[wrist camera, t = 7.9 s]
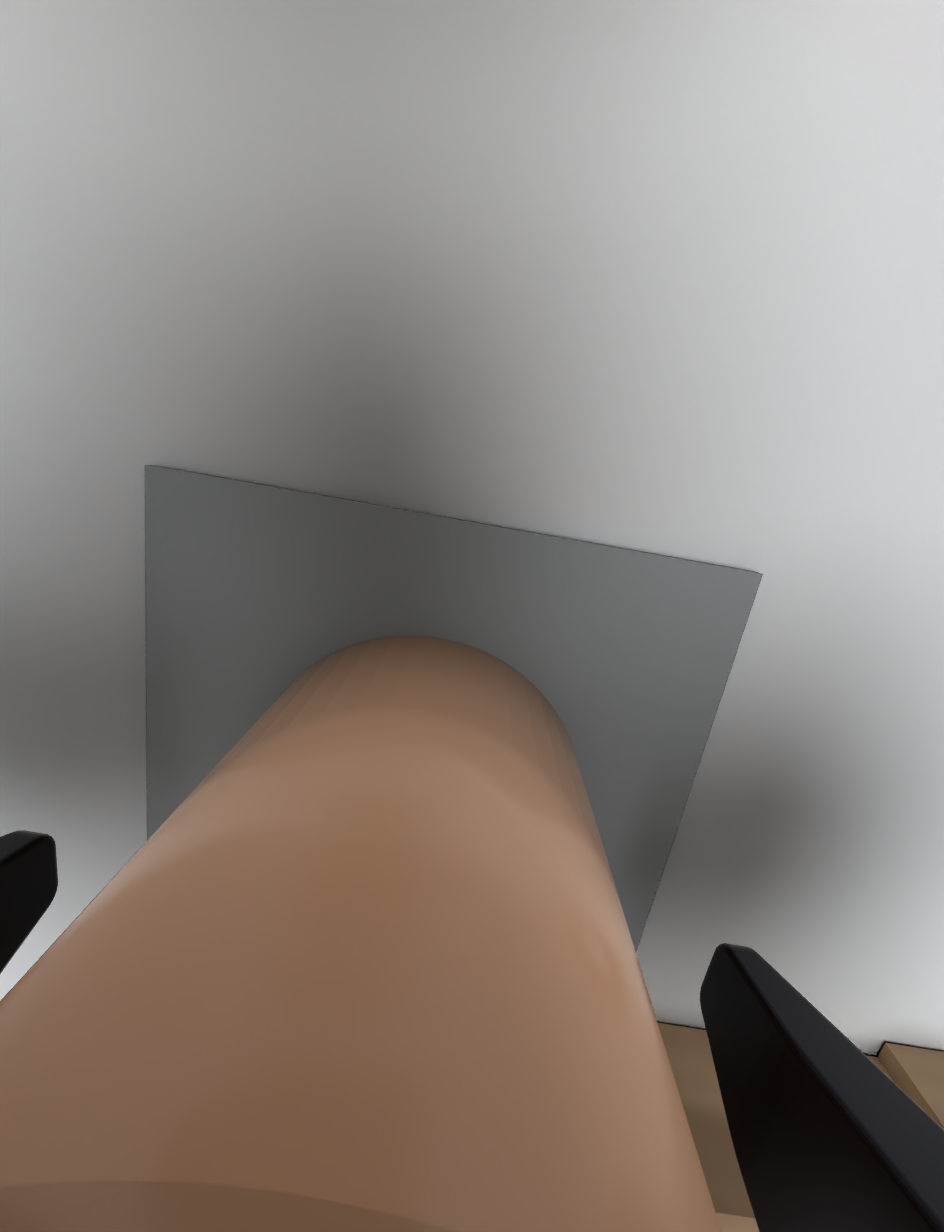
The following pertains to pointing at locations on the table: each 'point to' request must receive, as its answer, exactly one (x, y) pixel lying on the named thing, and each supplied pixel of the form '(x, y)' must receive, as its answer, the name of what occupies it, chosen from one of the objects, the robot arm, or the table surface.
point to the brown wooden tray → (920, 1073)
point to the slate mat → (441, 608)
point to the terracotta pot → (355, 989)
